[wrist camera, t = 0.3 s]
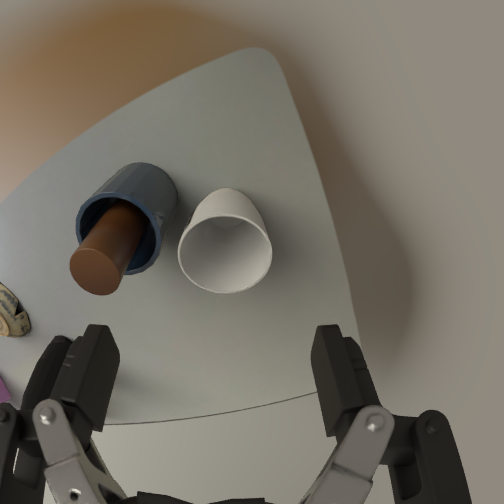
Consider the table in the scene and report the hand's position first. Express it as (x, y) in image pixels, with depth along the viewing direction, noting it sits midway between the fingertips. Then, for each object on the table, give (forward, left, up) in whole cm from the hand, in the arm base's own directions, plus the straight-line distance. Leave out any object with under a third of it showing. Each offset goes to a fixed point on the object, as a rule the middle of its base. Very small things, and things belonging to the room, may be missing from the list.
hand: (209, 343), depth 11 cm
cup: (+5, 0, -24) cm, 25 cm away
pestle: (+4, -10, -24) cm, 26 cm away
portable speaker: (+33, -31, -24) cm, 51 cm away
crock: (+4, -10, -24) cm, 26 cm away
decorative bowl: (+24, -45, -24) cm, 56 cm away
